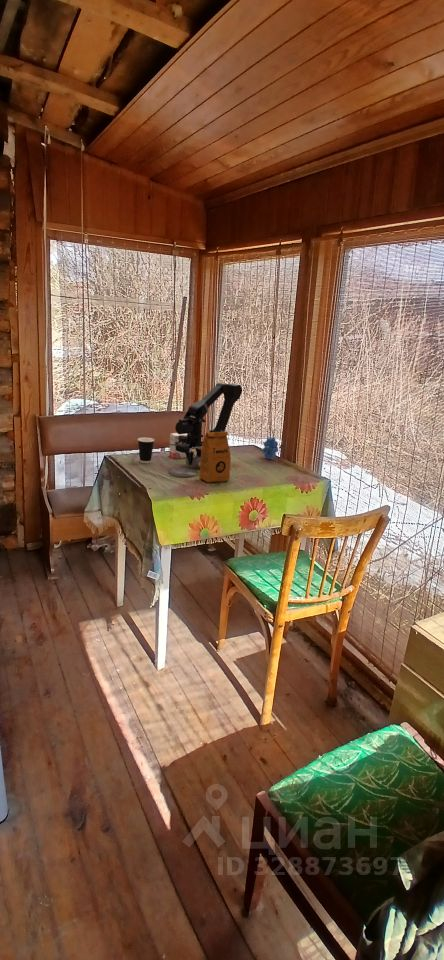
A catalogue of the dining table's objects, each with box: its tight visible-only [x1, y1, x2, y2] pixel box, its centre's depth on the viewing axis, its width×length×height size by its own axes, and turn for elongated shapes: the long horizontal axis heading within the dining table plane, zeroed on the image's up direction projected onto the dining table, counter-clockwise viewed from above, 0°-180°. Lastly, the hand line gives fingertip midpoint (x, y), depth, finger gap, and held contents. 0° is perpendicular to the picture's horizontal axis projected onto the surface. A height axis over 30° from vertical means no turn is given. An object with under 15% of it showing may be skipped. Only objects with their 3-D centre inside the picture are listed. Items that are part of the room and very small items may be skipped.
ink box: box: [168, 432, 189, 459], centre depth 277 cm, size 8×5×12 cm, turn 123°
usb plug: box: [185, 453, 201, 470], centre depth 262 cm, size 4×12×5 cm, turn 42°
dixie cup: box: [137, 437, 155, 464], centre depth 264 cm, size 8×8×11 cm
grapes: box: [262, 436, 279, 460], centre depth 284 cm, size 12×7×12 cm, turn 32°
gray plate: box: [168, 467, 197, 479], centre depth 251 cm, size 12×12×1 cm
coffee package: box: [199, 431, 232, 483], centre depth 242 cm, size 10×12×22 cm
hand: (193, 464), depth 264 cm, fingers closed on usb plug, 4 cm apart
